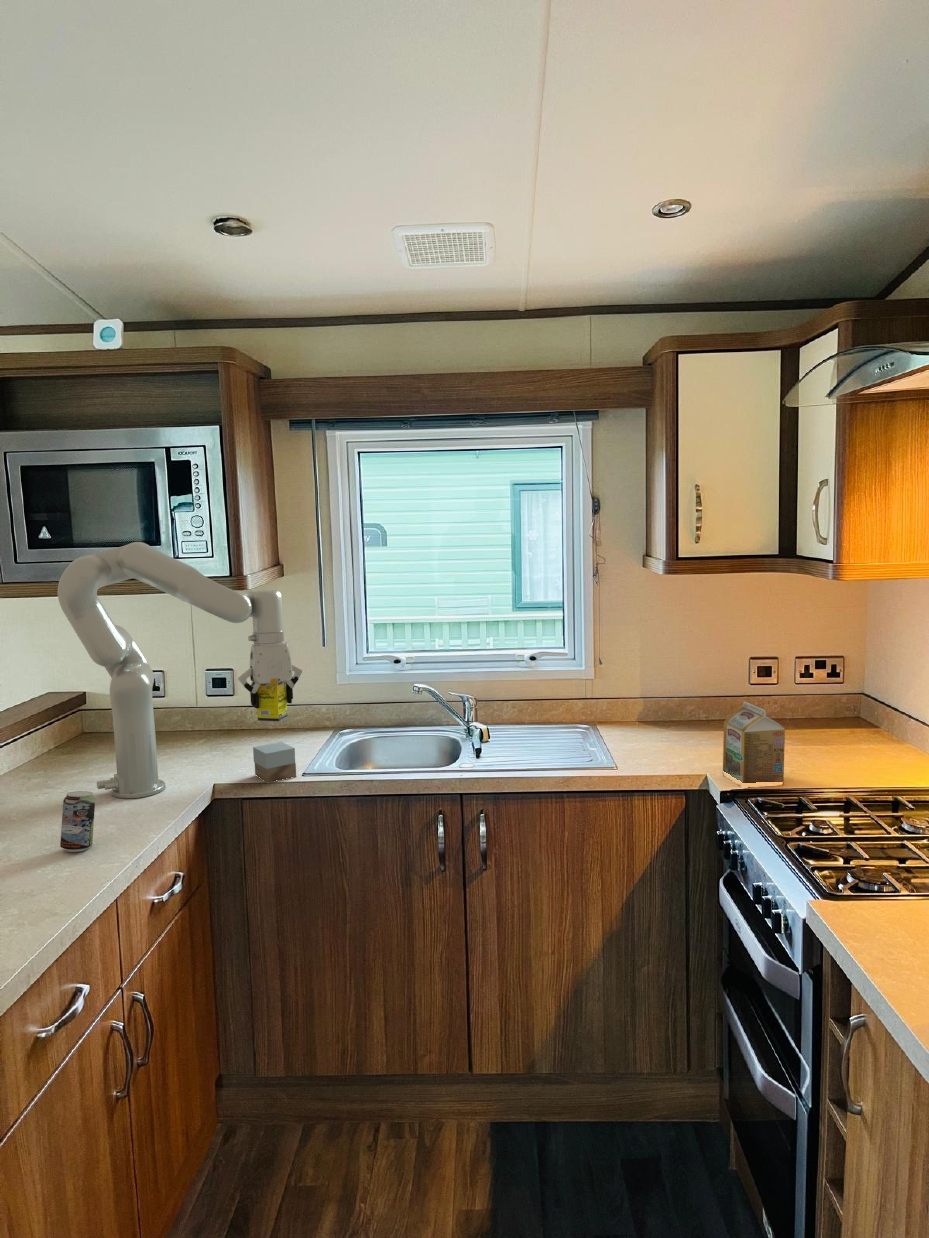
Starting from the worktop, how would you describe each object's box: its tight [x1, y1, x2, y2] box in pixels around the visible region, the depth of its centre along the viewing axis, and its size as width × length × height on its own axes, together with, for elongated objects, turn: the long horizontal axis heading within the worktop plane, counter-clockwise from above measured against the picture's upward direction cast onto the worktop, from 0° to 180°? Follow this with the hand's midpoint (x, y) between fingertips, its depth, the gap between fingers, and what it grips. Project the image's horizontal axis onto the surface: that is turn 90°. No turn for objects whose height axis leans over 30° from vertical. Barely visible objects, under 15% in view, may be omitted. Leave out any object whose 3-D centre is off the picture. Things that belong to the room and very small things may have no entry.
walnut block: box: [254, 762, 297, 784], centre depth 222 cm, size 8×8×4 cm
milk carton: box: [722, 701, 786, 783], centre depth 210 cm, size 10×11×19 cm
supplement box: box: [256, 679, 288, 722], centre depth 219 cm, size 6×6×11 cm
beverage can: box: [59, 790, 96, 853], centre depth 174 cm, size 6×7×12 cm
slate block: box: [252, 741, 296, 769], centre depth 221 cm, size 8×8×4 cm
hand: (272, 704), depth 219 cm, fingers closed on supplement box, 8 cm apart
